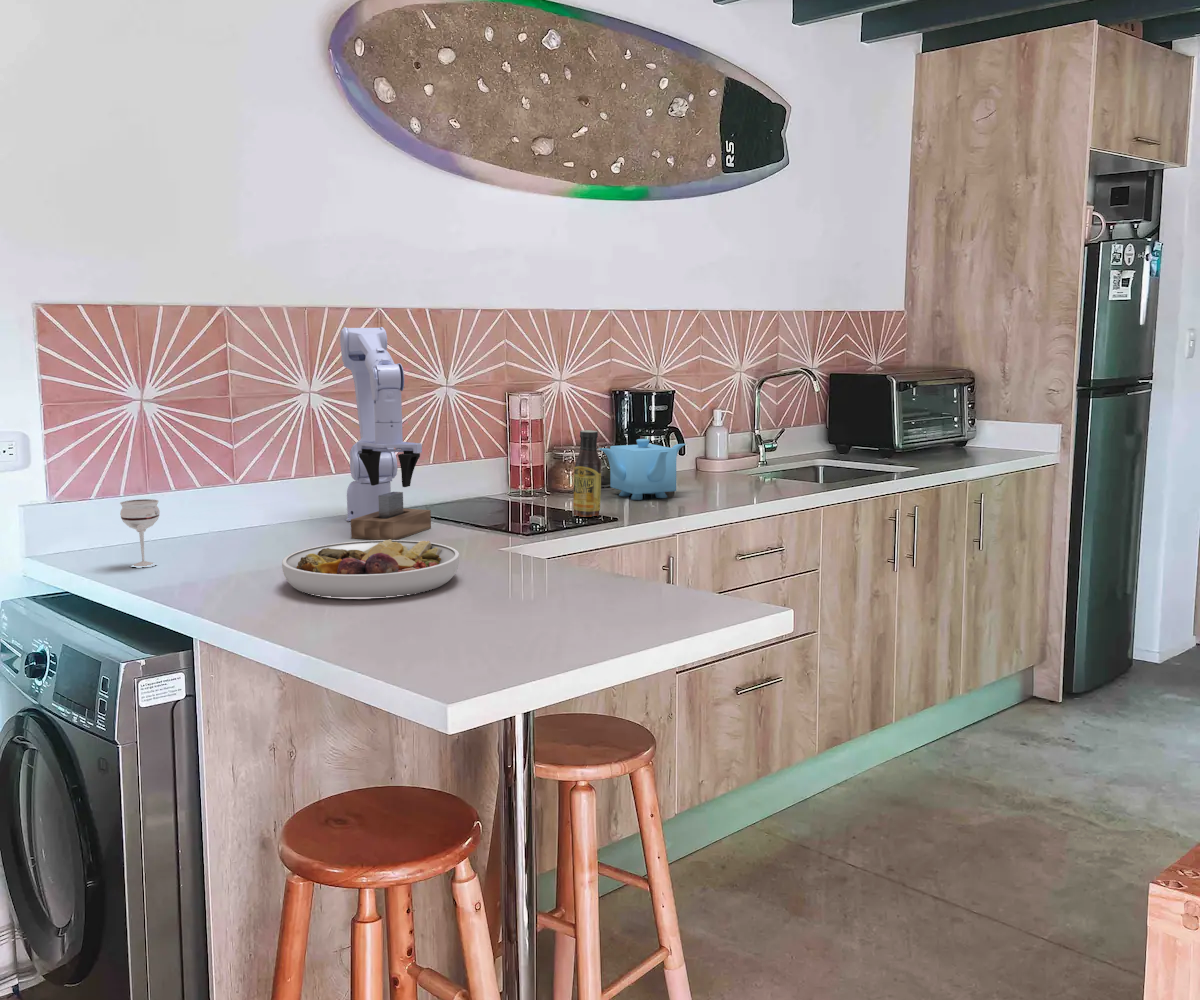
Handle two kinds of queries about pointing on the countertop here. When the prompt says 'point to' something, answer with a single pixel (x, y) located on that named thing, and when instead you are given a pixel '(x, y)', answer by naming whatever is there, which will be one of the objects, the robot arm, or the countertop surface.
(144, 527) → the wineglass
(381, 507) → the gray rectangular block
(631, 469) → the teakettle
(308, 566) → the bowl
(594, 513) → the sauce bottle
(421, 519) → the wooden slotted block
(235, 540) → the countertop surface
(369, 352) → the robot arm
